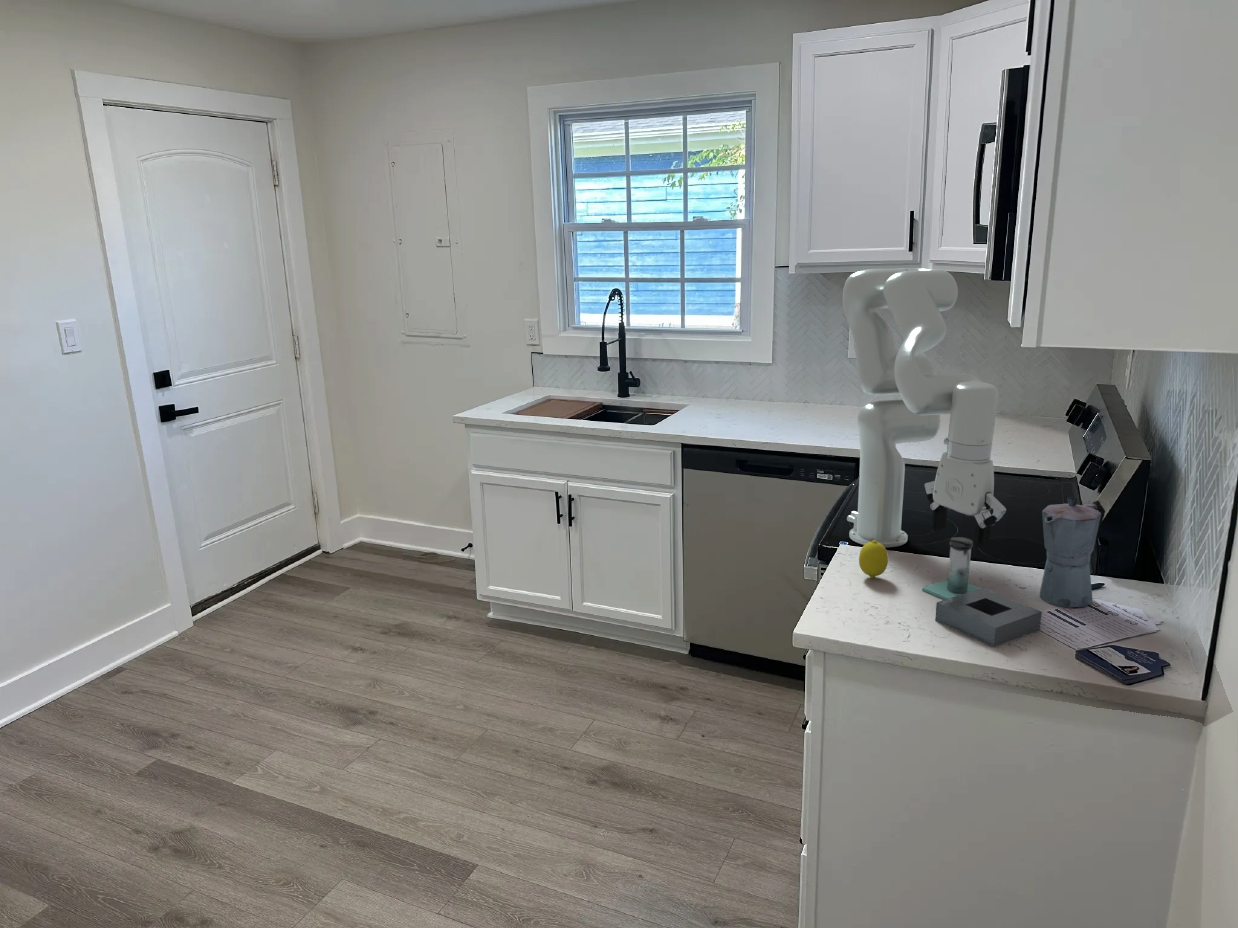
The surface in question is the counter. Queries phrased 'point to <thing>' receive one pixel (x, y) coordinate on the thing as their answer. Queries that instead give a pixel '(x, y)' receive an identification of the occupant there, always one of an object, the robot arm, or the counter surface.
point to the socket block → (988, 616)
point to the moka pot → (1069, 552)
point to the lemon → (873, 559)
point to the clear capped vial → (959, 565)
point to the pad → (944, 590)
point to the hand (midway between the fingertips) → (959, 537)
